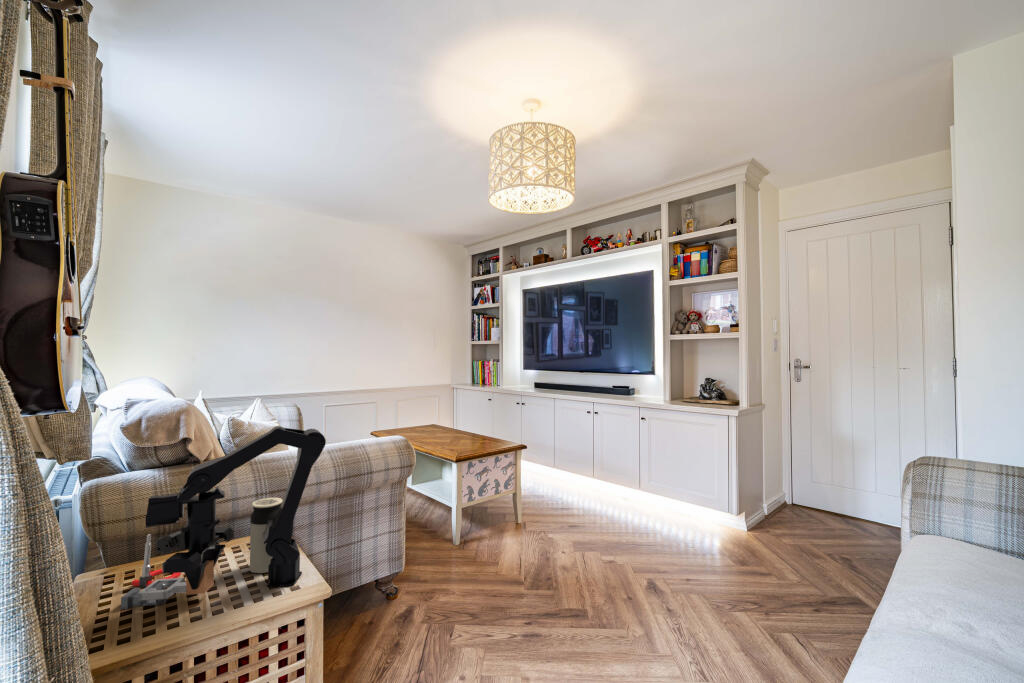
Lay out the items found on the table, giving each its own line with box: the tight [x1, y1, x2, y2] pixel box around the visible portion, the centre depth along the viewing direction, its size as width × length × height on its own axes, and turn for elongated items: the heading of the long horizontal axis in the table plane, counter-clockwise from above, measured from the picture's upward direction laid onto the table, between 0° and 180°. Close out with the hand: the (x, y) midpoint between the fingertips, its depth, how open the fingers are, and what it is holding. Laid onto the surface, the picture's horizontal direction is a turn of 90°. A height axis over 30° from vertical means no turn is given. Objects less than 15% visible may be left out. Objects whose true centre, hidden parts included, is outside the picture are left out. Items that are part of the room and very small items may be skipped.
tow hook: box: [131, 533, 182, 588], centre depth 117 cm, size 8×13×9 cm
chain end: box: [138, 560, 215, 601], centre depth 106 cm, size 14×6×6 cm, turn 96°
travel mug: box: [249, 497, 283, 574], centre depth 124 cm, size 8×8×18 cm
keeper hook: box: [120, 582, 168, 610], centre depth 105 cm, size 8×4×4 cm, turn 96°
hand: (200, 584), depth 107 cm, fingers closed on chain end, 4 cm apart
